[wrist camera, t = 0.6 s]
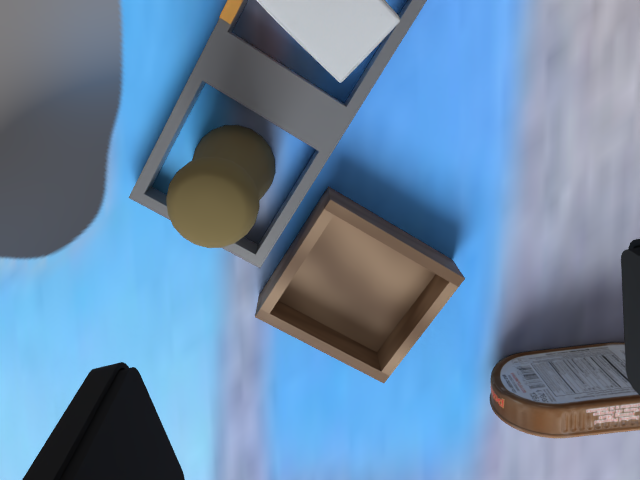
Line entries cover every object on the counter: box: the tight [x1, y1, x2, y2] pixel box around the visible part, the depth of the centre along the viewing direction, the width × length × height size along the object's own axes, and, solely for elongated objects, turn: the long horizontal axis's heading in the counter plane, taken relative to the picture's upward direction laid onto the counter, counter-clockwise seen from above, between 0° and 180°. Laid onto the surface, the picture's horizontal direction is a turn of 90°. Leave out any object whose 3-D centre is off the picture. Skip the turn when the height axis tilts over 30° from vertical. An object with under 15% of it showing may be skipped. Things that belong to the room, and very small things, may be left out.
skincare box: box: [257, 0, 400, 83], centre depth 30 cm, size 6×4×12 cm
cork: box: [166, 125, 275, 248], centre depth 34 cm, size 6×6×11 cm
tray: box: [255, 186, 465, 383], centre depth 40 cm, size 11×12×4 cm
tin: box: [490, 343, 640, 438], centre depth 41 cm, size 15×3×8 cm, turn 97°
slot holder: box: [129, 0, 427, 268], centre depth 36 cm, size 22×11×2 cm, turn 148°
